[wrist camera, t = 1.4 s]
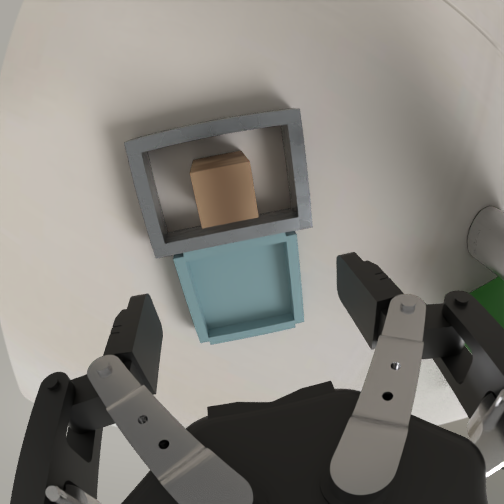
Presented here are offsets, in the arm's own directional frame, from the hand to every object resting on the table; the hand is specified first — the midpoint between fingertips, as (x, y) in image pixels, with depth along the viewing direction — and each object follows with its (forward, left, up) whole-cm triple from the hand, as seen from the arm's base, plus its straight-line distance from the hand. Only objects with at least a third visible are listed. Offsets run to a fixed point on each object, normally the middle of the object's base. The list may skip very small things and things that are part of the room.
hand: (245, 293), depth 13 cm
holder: (0, 0, -22) cm, 22 cm away
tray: (0, +13, -22) cm, 25 cm away
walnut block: (0, 0, -22) cm, 22 cm away
